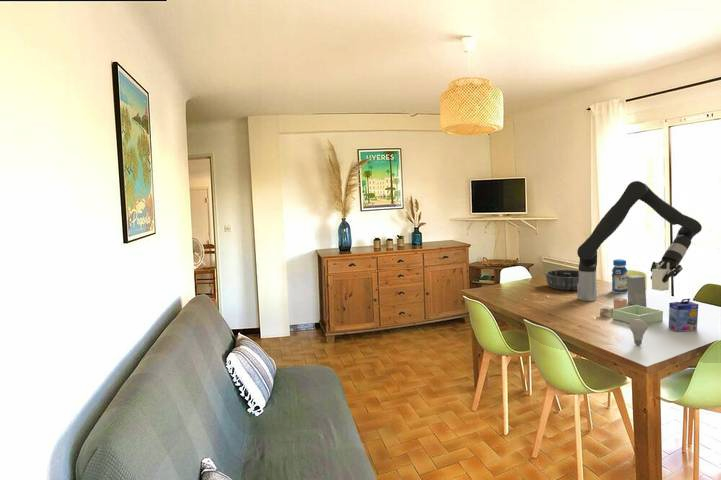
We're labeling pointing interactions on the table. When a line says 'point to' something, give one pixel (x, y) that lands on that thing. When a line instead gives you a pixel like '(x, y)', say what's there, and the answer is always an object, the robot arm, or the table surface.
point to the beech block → (606, 312)
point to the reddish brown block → (620, 303)
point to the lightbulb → (638, 330)
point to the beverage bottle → (619, 276)
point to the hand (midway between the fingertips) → (657, 280)
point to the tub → (638, 314)
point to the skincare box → (636, 290)
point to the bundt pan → (563, 279)
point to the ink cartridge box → (683, 316)
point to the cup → (659, 280)
